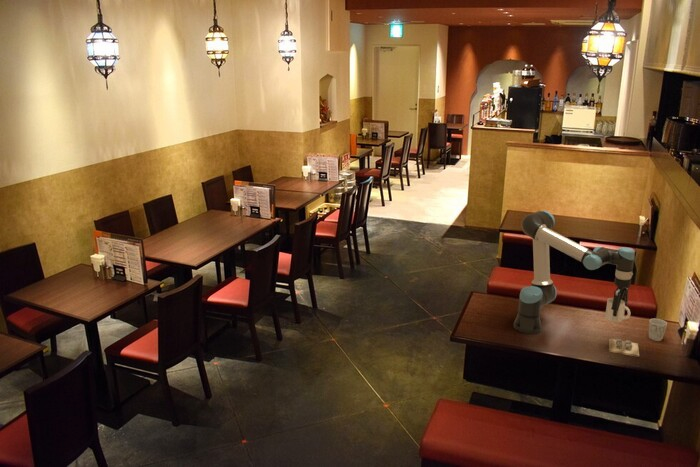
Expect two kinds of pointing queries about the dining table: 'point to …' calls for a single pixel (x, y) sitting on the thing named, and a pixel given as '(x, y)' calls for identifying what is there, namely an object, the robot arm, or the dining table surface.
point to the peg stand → (623, 347)
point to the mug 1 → (621, 309)
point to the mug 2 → (657, 329)
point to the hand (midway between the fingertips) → (617, 318)
